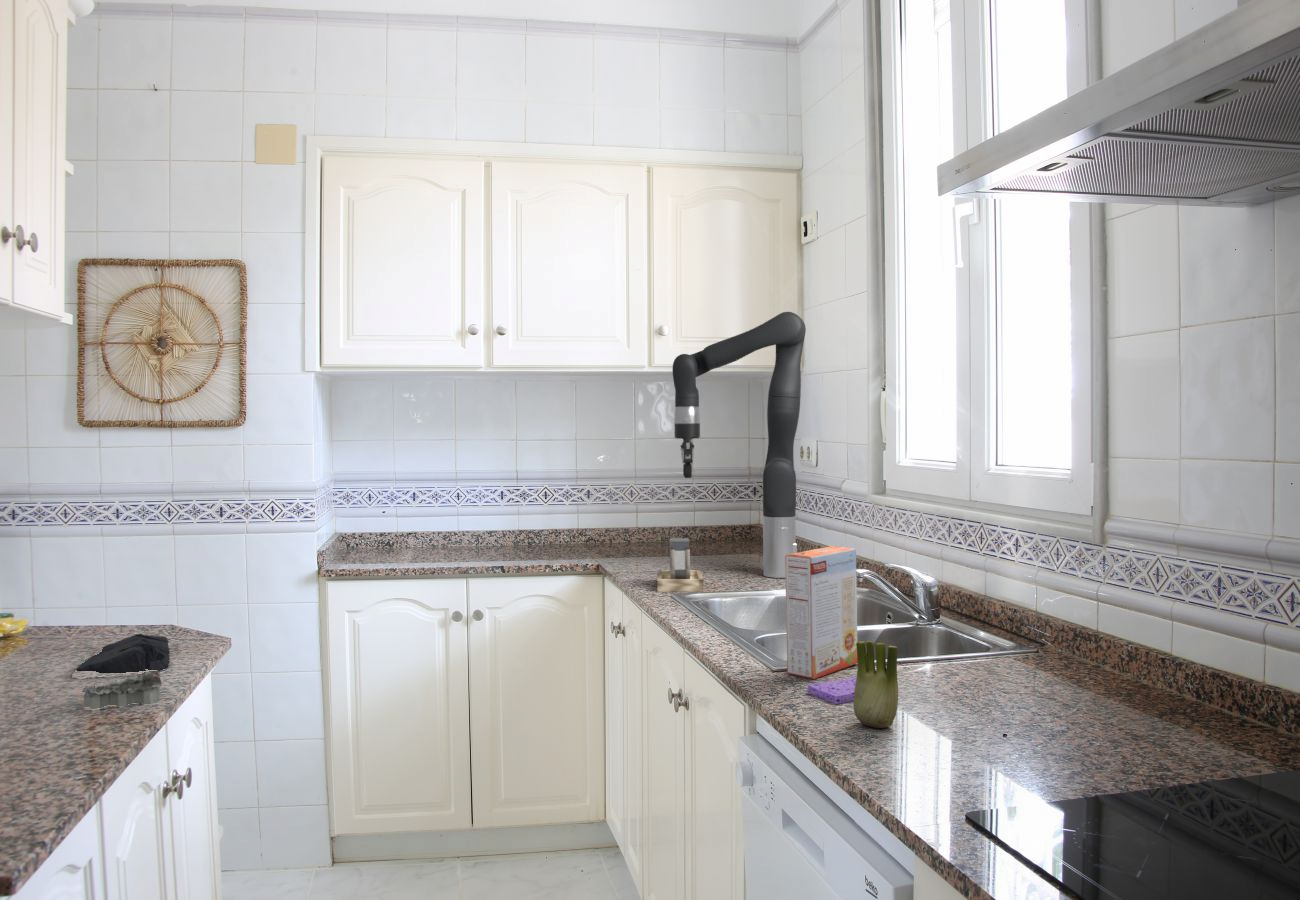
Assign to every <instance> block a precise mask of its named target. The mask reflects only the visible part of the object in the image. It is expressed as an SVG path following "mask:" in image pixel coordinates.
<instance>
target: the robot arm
mask: <svg viewBox="0 0 1300 900" xmlns="http://www.w3.org/2000/svg"><path fill="white" fill-rule="evenodd" d="M805 324H806V323H805V322H804V320H803V319H802V318H801V316H799V315H798V314H796V313H795V312H793V311H792V312H791V311H782V312H780V313H779V314H777V315H775V316H774V317H772V318H771V319H769V320H766V321H765V322H763V323H762V324H760V325H758V326H755V327H753V328H751V329H749V330H746V331H744V332H742V333H739V334H736V335H734V336H731V337H729V338H728V337H727V338H725V339H722V340H720V341H717V342H715V343H712V344H709V345H708V346H706V347H704V348H703V350H700V351H698V352H695V353H692V354H688V353H682V354H679V355H678V356H676V357H675V359H674V360H673V363H672V380H673V385H674V390H675V393H674V396H675V397H674V407H675V409H674V415H673V417H674V423H673V424H674V438H675V439H682V442H681V443H682V444H680V452H681V453H680V455H681V460H682V466H683V467H682V468H683V469H682V470H683V471H682V472H683V473H682V475H683V478H685V479H691V478H692V476H693V469H692V467H693V462H694V460H693V459H694V456H695V455H694V451H695V445H694V444H693V441H692V440H693V439H699V438H700V437H701V414H700V402H699V401H700V399H699V398H700V397H699V396H700V394H699V393H700V392H699V389H698V388H697V379H696V378H697V377H701V376H703V375H704V374H706V373H708V372H710V371H712V370H715V369H717V368H721V367H723V366H727V365H729V364H732V363H735V362H737V361H739V360H741V359H743V358H745V357H746V356H748V355H750V354H752V353H754V352H756V351H759V350H761V349H764V348H767V347H771V346H775V360H774V361H775V362H774V366H773V370H772V371H773V372H772V375H771V379H770V383H769V387H768V393H767V408H766V409H767V410H766V411H767V413H766V415H767V422H766V423H767V437H768V439H767V440H768V443H767V444H768V445H767V451H766V457H765V458H766V459H765V464H764V468H763V471H762V495H763V496H762V522H763V523H762V528H763V529H762V539H763V540H762V544H763V545H762V548H763V550H762V551H763V553H762V557H763V559H762V561H763V563H762V565H763V566H762V567H763V568H762V570H763V572H762V573H763V576H764V577H767V578H776V579H777V578H778V579H781V578H782V579H784V578H785V579H786V575H785V555H787V554H792V553H798V543H797V541H796V540H797V539H796V536H797V535H796V533H797V532H796V525H797V524H796V518H797V517H796V510H797V509H796V508H797V475H796V470H795V466H794V464H795V462H794V461H795V460H794V446H795V445H794V444H795V438H796V433H797V431H798V430H797V429H798V424H799V419H800V418H799V417H800V410H801V409H800V408H801V395H802V394H801V392H802V391H801V387H802V385H801V383H802V382H801V380H802V377H801V376H802V375H801V372H802V371H801V364H802V363H801V362H802V353H803V346H804V342H805V336H806V332H807V331H806V329H807V328H806V325H805Z"/></svg>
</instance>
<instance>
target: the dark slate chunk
mask: <svg viewBox="0 0 1300 900" xmlns="http://www.w3.org/2000/svg"><path fill="white" fill-rule="evenodd" d="M169 642H170V641H169V639H168V637H166V636H163V635H157V636H156V635H152V634H151V635H147V634H142V633H137V634H134V635H130V636H128V637H125V638H122V639H121V640H118V641H116V642H113V643H109V644H107V645H105V646H102V647H101V648H103V649H102V652H100V653H99V654H97V655H94V656H92V655H91V656H92V657H91V656H90V657H89V658H87V659H88V660H87V659H85V660H84V661H85V662H84V661H83V662H84V663H82V662H81V663H82V664H81V663H80V664H81V665H80V664H79V666H77V667H78V668H77V667H76V668H75V670H77V671H96V672H99V673H126V672H139V671H146V670H145V669H148V670H163V669H166V668H167V669H169V667H170V660H171V657H170V648H169ZM167 669H166V670H167ZM163 671H164V670H163Z"/></svg>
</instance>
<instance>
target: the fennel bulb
mask: <svg viewBox="0 0 1300 900" xmlns="http://www.w3.org/2000/svg"><path fill="white" fill-rule="evenodd" d="M856 647H857V664H856V665H857V672H856V677H857V678H856V684H855V689H854V701H853V712H854V715H855V717H856V718H857V720H858V721H859V722H860V723H861V724H863V725H864V726H868V727H871V728H875V729H882V728H883V729H884V728H887V727H888V728H889V727H892V726H893V723H894V720H895V718H896V715H897V711H898V704H899V685H898V684H899V683H898V670H897V669H898V647H897V646H895V645H888V648H887V650H886V643H882V642H877V643H875V646H874V642H873V641H868V640H867V641H861V640H860V641H857V643H856ZM874 647H875V649H874ZM874 650H875V651H874ZM886 651H887V652H886ZM886 653H887V657H886Z"/></svg>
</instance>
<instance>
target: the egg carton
mask: <svg viewBox="0 0 1300 900" xmlns="http://www.w3.org/2000/svg"><path fill="white" fill-rule="evenodd" d="M162 686H163V683H162V680H161V671H160V670H157V671H149V672H144V673H142V674H139V675H137V677H135V678H134V677H133V678H132V677H129V678H127V679H125V680H122V681H118V682H115V681H112V682H110V683H109V682H108V683H103V684H102V685H98V686H96V685H95V684H94V685H85V687H84V688H83V689H82V691H81V692H82V693H84V695H83V696H82V698H83V708H84V707H90V708H92V709H97V708H101V707H104V706H107V705H116V706H118V707H119V706H126V705H128V704H131V703H143V704H149V705H152V704H153V703H156V702H159V701H161V697H160V696H161V687H162ZM151 703H152V704H151ZM143 704H142V705H143Z"/></svg>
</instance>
